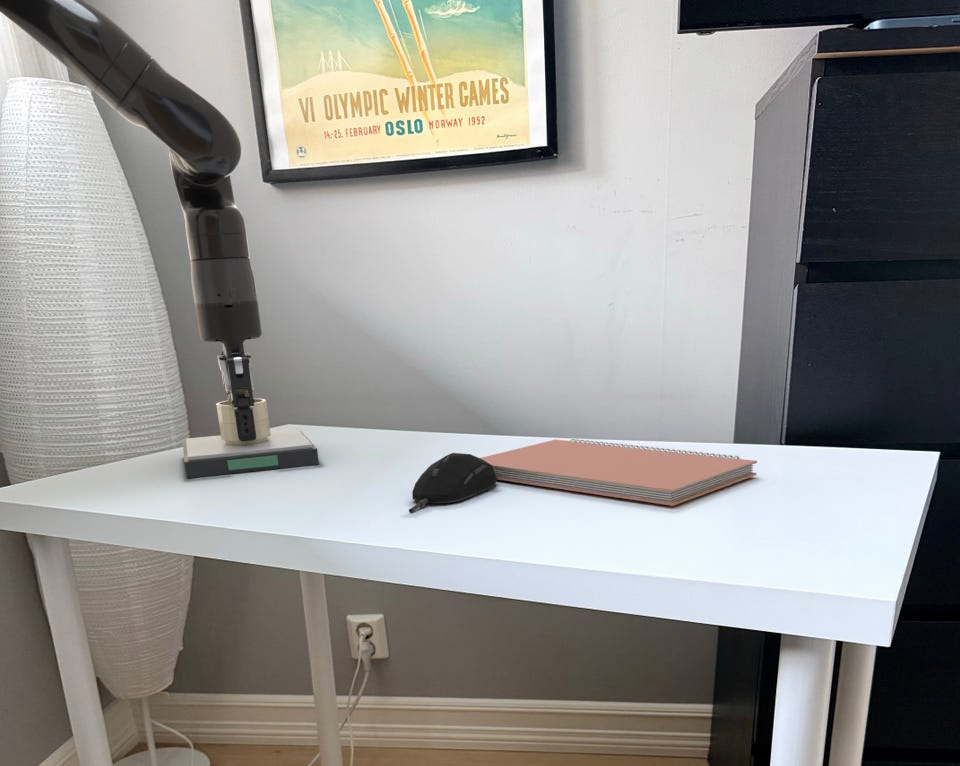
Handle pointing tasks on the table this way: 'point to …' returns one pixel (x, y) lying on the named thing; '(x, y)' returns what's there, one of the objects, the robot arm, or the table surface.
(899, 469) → the table surface
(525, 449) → the notebook
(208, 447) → the scale
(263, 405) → the container
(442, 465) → the gaming mouse
